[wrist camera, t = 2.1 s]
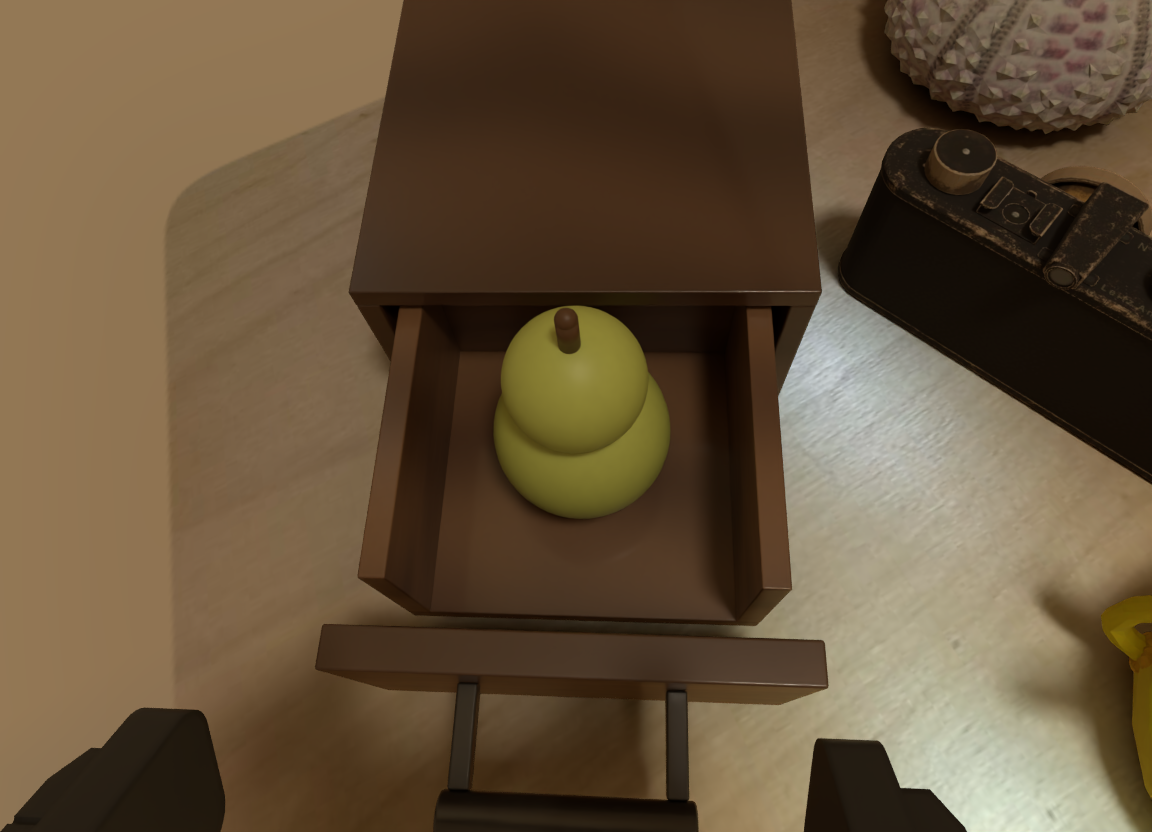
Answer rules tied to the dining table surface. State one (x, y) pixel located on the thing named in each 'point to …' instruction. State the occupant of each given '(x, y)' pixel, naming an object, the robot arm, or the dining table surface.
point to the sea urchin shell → (1028, 57)
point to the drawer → (578, 552)
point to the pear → (579, 414)
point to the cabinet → (592, 162)
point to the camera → (1018, 279)
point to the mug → (1136, 669)
